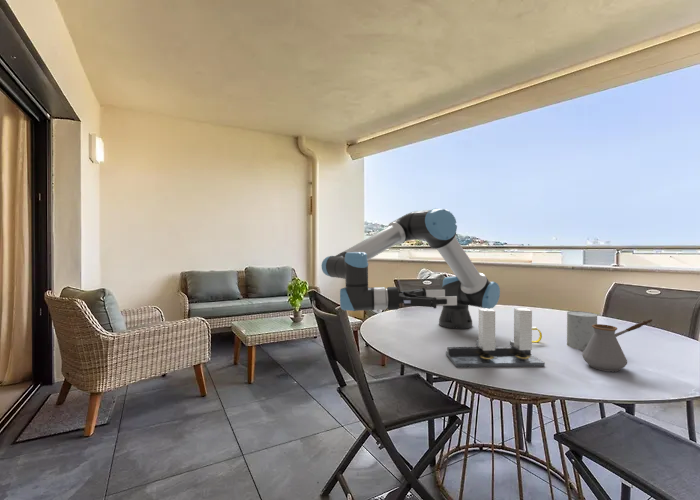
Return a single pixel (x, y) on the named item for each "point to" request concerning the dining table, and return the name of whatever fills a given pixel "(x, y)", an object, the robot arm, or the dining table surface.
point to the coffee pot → (607, 348)
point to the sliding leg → (486, 330)
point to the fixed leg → (522, 330)
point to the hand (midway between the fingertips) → (450, 296)
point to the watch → (540, 335)
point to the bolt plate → (492, 357)
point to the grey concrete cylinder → (580, 328)
